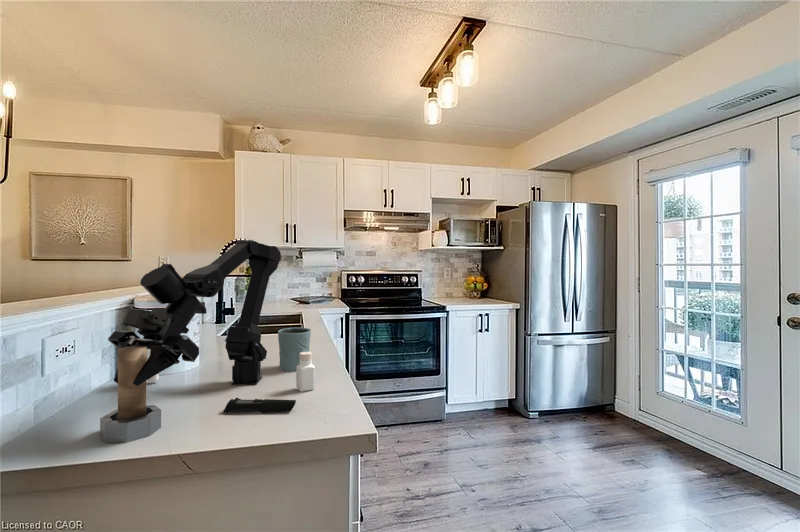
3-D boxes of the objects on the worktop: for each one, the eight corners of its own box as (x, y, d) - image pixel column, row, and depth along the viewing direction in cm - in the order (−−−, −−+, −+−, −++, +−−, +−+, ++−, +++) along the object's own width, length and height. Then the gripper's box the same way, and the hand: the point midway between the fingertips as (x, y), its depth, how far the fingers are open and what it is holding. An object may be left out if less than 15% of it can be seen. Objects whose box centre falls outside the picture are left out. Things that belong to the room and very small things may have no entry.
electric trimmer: (293, 417, 82) (293, 402, 82) (221, 415, 82) (222, 400, 82) (297, 410, 86) (298, 396, 86) (229, 408, 86) (230, 394, 86)
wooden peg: (148, 409, 76) (148, 344, 76) (143, 417, 72) (144, 349, 72) (120, 413, 74) (121, 346, 74) (114, 421, 70) (115, 351, 70)
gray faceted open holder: (168, 421, 78) (168, 404, 78) (141, 442, 69) (142, 422, 69) (122, 422, 77) (122, 405, 77) (89, 443, 68) (89, 423, 68)
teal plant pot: (298, 362, 127) (298, 326, 127) (317, 367, 120) (317, 329, 120) (271, 368, 119) (271, 330, 119) (289, 374, 112) (290, 334, 112)
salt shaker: (310, 385, 102) (310, 350, 102) (315, 390, 99) (315, 353, 99) (295, 388, 100) (295, 352, 100) (300, 392, 96) (300, 355, 96)
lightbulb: (156, 386, 100) (157, 345, 100) (133, 386, 100) (134, 344, 100) (171, 380, 106) (171, 340, 106) (149, 379, 106) (150, 340, 106)
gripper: (117, 292, 79) (56, 356, 69) (188, 294, 74) (133, 365, 64) (151, 323, 87) (101, 386, 77) (218, 328, 82) (173, 396, 71)
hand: (125, 383), depth 72 cm, fingers closed on wooden peg, 4 cm apart
